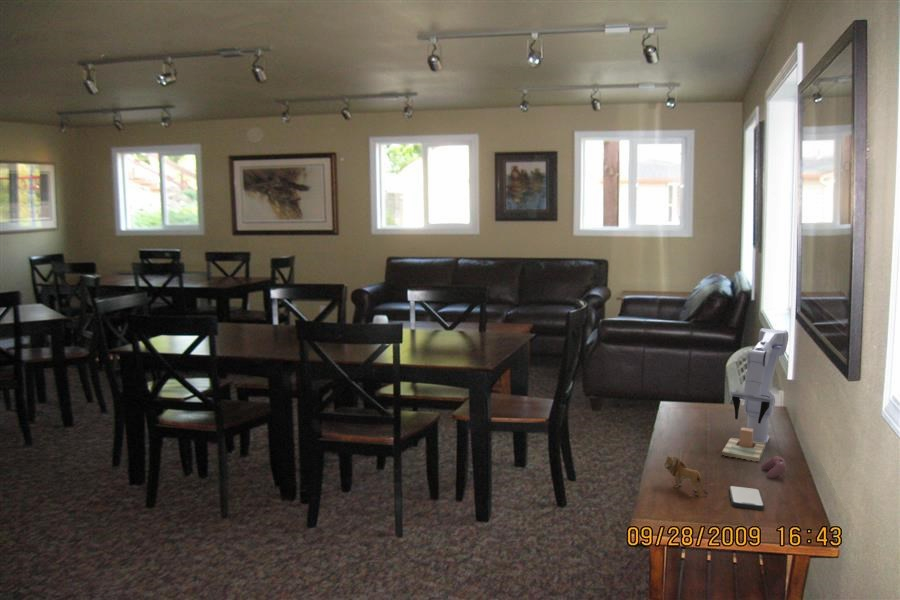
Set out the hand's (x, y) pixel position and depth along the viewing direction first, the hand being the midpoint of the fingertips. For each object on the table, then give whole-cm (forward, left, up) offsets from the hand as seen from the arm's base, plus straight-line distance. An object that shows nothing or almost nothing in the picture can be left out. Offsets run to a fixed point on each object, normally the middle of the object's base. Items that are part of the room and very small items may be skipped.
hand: (747, 421), depth 286 cm
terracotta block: (-2, 0, -11) cm, 11 cm away
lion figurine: (+53, -11, -11) cm, 55 cm away
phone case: (+52, +7, -11) cm, 53 cm away
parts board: (+2, 0, -11) cm, 11 cm away
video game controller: (+23, +11, -11) cm, 28 cm away
